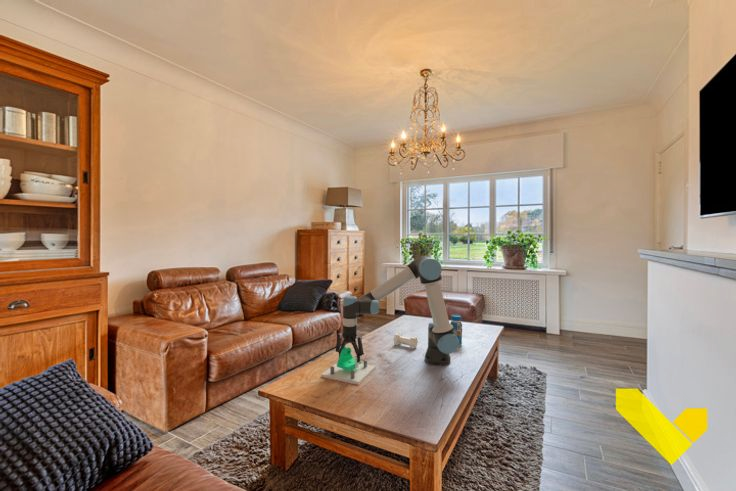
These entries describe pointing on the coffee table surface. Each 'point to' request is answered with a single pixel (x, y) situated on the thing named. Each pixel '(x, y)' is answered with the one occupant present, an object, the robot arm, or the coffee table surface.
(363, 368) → the stub plate
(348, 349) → the camera mount
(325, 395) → the coffee table surface
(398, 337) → the dog bone
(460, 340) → the beverage bottle
